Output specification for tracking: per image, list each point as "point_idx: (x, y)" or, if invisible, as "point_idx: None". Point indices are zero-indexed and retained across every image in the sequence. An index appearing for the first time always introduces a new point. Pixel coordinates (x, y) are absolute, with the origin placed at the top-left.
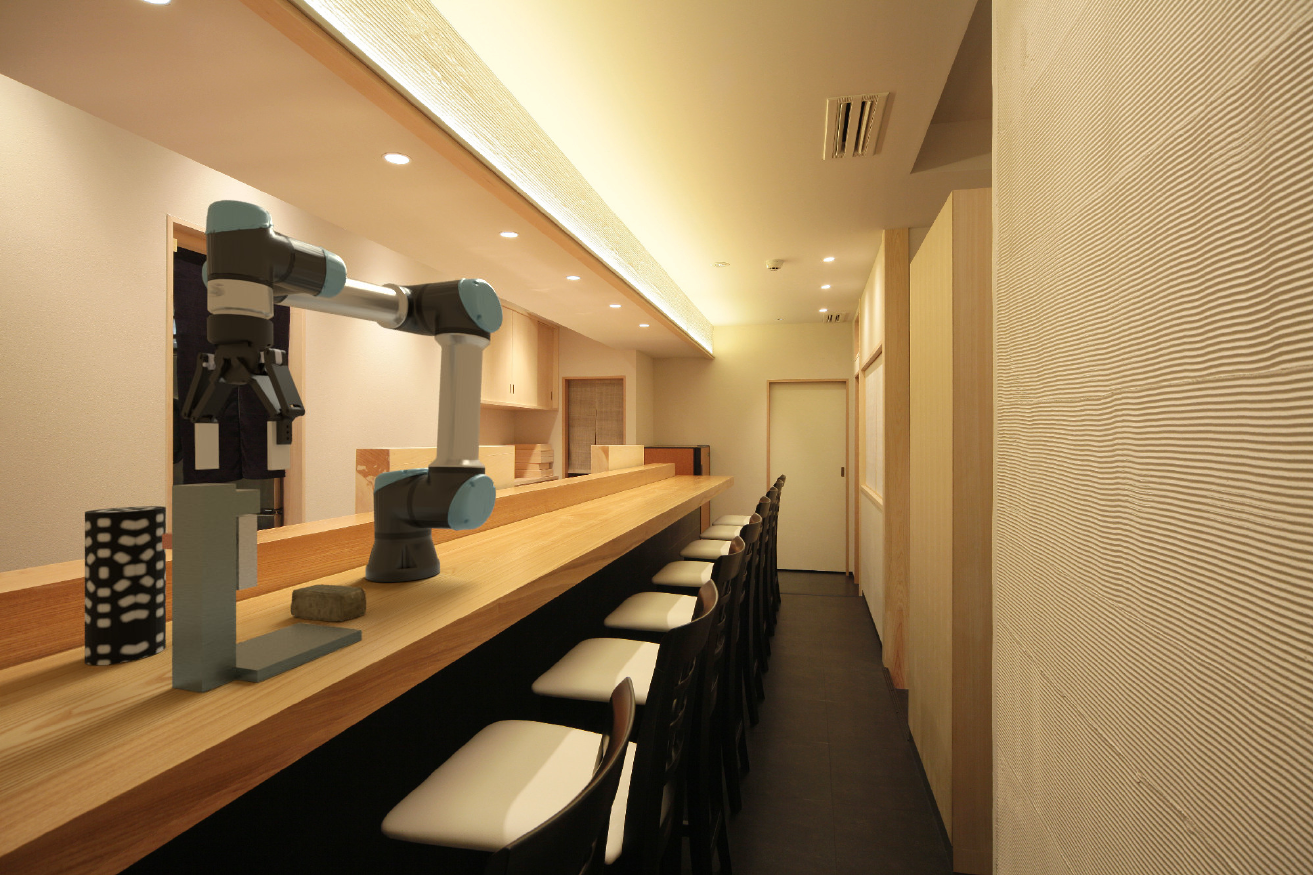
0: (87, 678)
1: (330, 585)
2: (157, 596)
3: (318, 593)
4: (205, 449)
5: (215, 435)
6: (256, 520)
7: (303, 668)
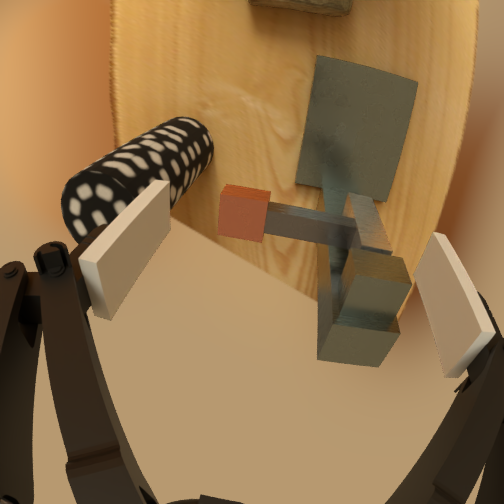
0: (217, 200)
1: None
2: (192, 158)
3: (303, 3)
4: (146, 245)
5: (122, 244)
6: (390, 246)
7: (403, 164)
